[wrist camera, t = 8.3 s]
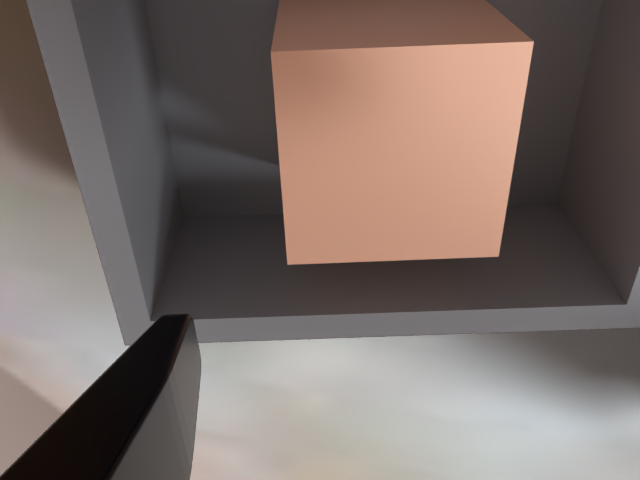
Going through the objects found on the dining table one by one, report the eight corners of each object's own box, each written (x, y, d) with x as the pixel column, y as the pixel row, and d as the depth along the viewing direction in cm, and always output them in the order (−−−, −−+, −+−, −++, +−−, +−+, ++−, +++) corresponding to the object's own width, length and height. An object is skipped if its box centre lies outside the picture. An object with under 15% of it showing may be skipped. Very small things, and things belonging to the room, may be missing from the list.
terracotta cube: (454, 162, 18) (498, 256, 14) (291, 168, 18) (287, 264, 14) (472, -12, 15) (533, 41, 11) (280, -4, 15) (271, 51, 11)
